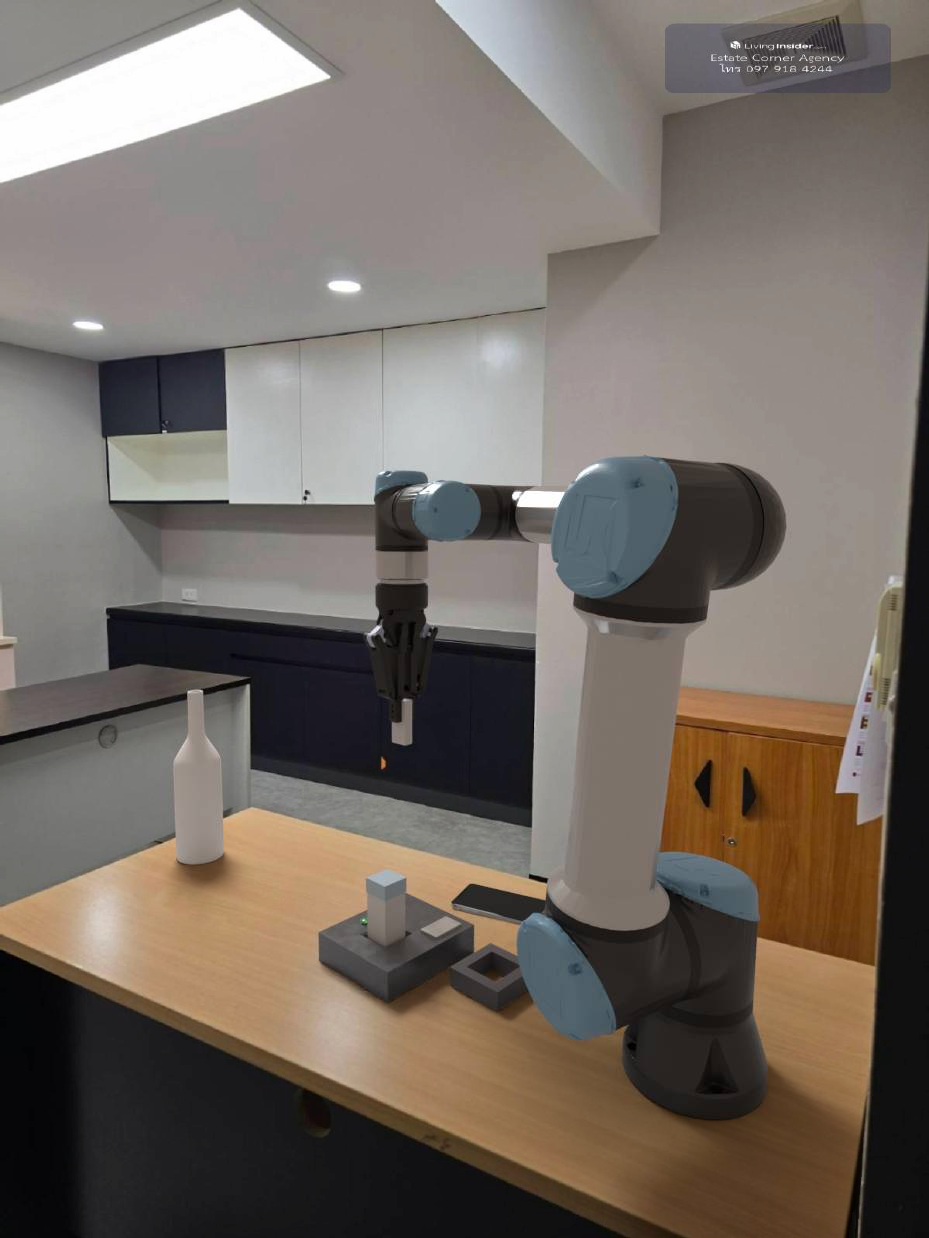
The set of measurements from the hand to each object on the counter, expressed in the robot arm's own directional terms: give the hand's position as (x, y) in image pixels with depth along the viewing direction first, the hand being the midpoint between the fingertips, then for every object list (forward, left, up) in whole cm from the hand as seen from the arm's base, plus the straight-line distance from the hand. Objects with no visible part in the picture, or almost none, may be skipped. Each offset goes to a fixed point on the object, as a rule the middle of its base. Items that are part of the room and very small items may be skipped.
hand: (402, 742), depth 112 cm
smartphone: (-8, -14, -28) cm, 32 cm away
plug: (-7, +9, -27) cm, 30 cm away
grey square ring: (-20, +3, -27) cm, 34 cm away
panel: (-6, +7, -27) cm, 29 cm away
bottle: (+44, +9, -28) cm, 52 cm away
